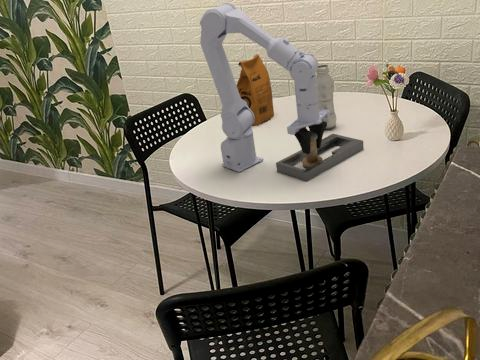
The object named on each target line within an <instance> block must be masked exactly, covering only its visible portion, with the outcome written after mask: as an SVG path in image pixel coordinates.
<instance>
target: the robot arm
mask: <svg viewBox="0 0 480 360" xmlns="http://www.w3.org/2000/svg"><path fill="white" fill-rule="evenodd" d="M199 25H200V28H201V29H200V41H199V42H200V47H201V49H202V50H201V51H202V52H203V55H204V57H205V62H206V63H207V67H208V68H209V71H210V75H211V77H212V80H213V83H214V85H215V88H216V91H217V94H218V97H219V99H220V102H221V105H222V108H221V112H220V119H221V123H222V124H221V128H222V131H223V133H224V134H225V136H226V138H225V139H224V140H223V141H222V142H221V143H220V151H221V158H222V164H221V165H222V167H224V168H226V169H227V168H228V169H230V170H232V171H235V172H237V173H239V172H240V173H241V172H242V171H243V172H244V170H247V169H248V168H251V167H252V166H254V165H257V164H258V163H261V162H263V161H264V158H262V157H259V156H257V152H256V145H255V139H254V131H253V125H252V124H253V123H254V119H255V117H254V114H253V112H252V111H251V110H250V109H249V107H248V105H247V102H246V101H244V100H243V99H241V97H240V95H239V92H238V89H237V83H236V81H235V78H234V74H233V72H232V69H231V66H230V63H229V60H228V58H227V55H226V51H225V48H224V46H223V43H224V41H225V39H226V37H227V35H228V34H238V33H239V34H241V35H243V36H245V37H246V38H248V39H249V40H251V41H252V42H254V43H255V44H257V45H259V46H260V47H262V48H264V50H265V51H266V54H267V55H266V56H267V58H269V59H271V60H272V61H274V62H275V63H277V64H278V65H279V66H281V67H282V68H283V69H285V70H286V71H288V72H289V75H290V77H291V79H292V80H293V82H294V91H295V92H294V93H295V104H296V115H297V118H296V120H294V121H293V122H292V123H291V124H290V125H288V126H286V129H287V130H286V132H287V134H288V135H290V136H291V135H292V136H295V138H296V140H297V141H298V143H299V145H300V148H301V149H300V150H302V151H303V153H305V154H310V139H311V134H312V132H315V133H316V134H317V139H316V145H317V148H318V149H319V148H320V147H321V141H322V139H323V138H324V137H323V136H324V133H325V131H326V130H327V129H326V127H327V122H325V121H323V119H324V118H329V117H330V111H329V110H322V111H319V103H318V90H317V81H316V76H317V73H316V71H317V69H318V66H319V61H318V60H317V58H316V57H315V56H314V54H312V53H309V52H305V51H304V50H302V49H298V48H297V47H296V46H294V45H293V44H291V43H290V39H289V38H287V37H285V38H283V37H274V36H272V35H271V34H270V33H268V32H267V31H266V30H264V29H263V28H262V27H261V26H259V25H258V24H257V23H256V22H254V21H253V20H252V19H251V18H249V17H248V16H247V15H246V14H245V12H244V11H243V10H242V9H239V8H237V7H236V6H235V5H233V4H232V3H231V2H230V3H229V2H224V3H221V4H220V5H218V6H215V7H213V8H210V9H207V10H206V11H205V12H204V14H203V15H202V17H201V19H200V21H199ZM308 128H309V129H308Z"/></svg>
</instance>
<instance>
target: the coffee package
mask: <svg viewBox="0 0 480 360" xmlns="http://www.w3.org/2000/svg"><path fill="white" fill-rule="evenodd" d="M237 65H238V66H239V67H240V68H241V70H240V72H239V73H240V74H239V78H238V80H237V83H236V86H237V89H238V92H239V95H240V97H241V99H243V100H244V101H246V102H247V105H248V107H249V109H250V110H251V111H252V112H253V114H254V117H255V119H254V123H253V124H252V126H260V125H261V124H262V123H263V122H268V121H269V120H270V119H271V118H272V117H273V116H274V115H275V111H274V102H273V90H272V89H273V88H272V84H271V79H270V75H269V71H268V69H267V67H266V65H265V64H264V62H263V60H262V59H261V57H260V55H259V54H258V53H256V54H255V55H254V56H253V58H252V59H248V60H247V59H246V60H242V61H239V62H238V64H237Z"/></svg>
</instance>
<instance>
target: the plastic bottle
mask: <svg viewBox="0 0 480 360" xmlns="http://www.w3.org/2000/svg"><path fill="white" fill-rule="evenodd" d="M329 72H330V70H329V65H327V64H320V65H319V64H318V69H317V71H316V73H315V74H316V81H317V90H318V103H319V111H322V110H329V111H330V117H329V118H324V119H323V121H325V122H327V127H326V129H325V130H329V129H332V128H334V127H335V126H336V124H337V115H336V113H335V111H336V110H335V106H334V104H335V103H334V86H335V85H334V84H335V83H334V82H335V81H334V79H333V78H332V75H330V74H329Z"/></svg>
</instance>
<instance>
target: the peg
mask: <svg viewBox="0 0 480 360" xmlns="http://www.w3.org/2000/svg"><path fill="white" fill-rule="evenodd" d="M316 139H317V134H316V133H315V132H312V134H311V139H310V154H306V157H305V158H304V159H303V160H302V161H301V163H302V167H304V168H305V167H306V169H308V168H309V167H311V166H313V165H315V164H317V163H319V162H320V161H322V160H324V158H323V157H322V156H320V155H318V153H317V145H316Z"/></svg>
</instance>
